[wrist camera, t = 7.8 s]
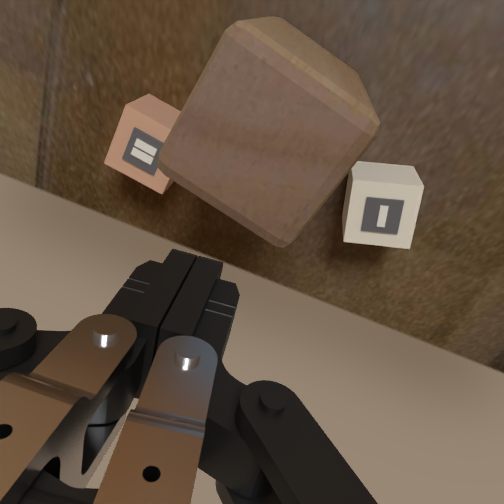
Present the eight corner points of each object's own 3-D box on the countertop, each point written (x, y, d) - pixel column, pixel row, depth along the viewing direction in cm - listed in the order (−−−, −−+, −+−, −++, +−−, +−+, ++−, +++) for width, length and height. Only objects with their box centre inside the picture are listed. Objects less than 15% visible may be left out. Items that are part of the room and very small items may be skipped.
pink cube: (203, 124, 47) (186, 139, 41) (180, 174, 50) (161, 195, 44) (149, 93, 46) (124, 105, 41) (128, 146, 49) (102, 164, 44)
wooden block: (301, 166, 47) (284, 259, 30) (216, 108, 46) (145, 170, 28) (365, 77, 43) (390, 125, 25) (272, 10, 41) (231, 12, 24)
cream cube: (413, 165, 46) (424, 187, 40) (401, 222, 49) (410, 250, 43) (350, 160, 46) (353, 181, 41) (341, 216, 49) (343, 243, 44)
